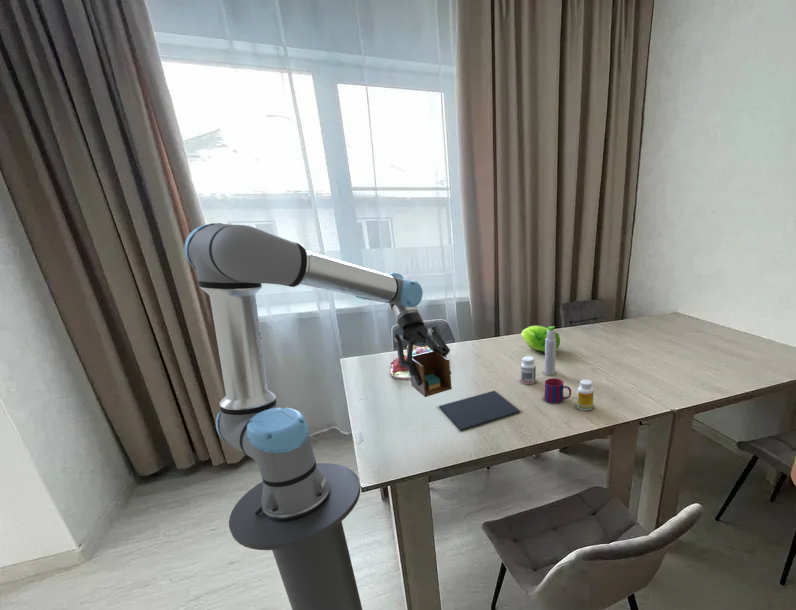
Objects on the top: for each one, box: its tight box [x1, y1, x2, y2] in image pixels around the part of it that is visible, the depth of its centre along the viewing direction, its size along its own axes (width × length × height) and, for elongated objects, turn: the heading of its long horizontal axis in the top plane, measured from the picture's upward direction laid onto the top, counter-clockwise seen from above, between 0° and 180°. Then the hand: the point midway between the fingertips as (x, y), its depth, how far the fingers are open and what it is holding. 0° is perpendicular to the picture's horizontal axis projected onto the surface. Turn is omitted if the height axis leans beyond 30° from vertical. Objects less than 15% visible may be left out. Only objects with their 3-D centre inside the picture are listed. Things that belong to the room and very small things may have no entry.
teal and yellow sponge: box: [425, 374, 440, 386], centre depth 125 cm, size 5×4×1 cm
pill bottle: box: [520, 355, 537, 385], centre depth 156 cm, size 6×6×10 cm
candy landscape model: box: [390, 344, 433, 380], centre depth 171 cm, size 25×24×9 cm
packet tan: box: [426, 383, 441, 390], centre depth 125 cm, size 5×4×1 cm
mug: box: [543, 377, 572, 404], centre depth 142 cm, size 7×10×7 cm
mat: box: [438, 390, 521, 432], centre depth 137 cm, size 22×18×1 cm
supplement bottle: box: [576, 379, 595, 411], centre depth 137 cm, size 5×5×10 cm
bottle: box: [544, 325, 557, 376], centre depth 161 cm, size 4×4×20 cm
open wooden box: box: [410, 351, 453, 398], centre depth 124 cm, size 10×9×10 cm
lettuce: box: [520, 325, 561, 353], centre depth 188 cm, size 13×23×12 cm, turn 41°
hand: (434, 379), depth 122 cm, fingers closed on open wooden box, 9 cm apart
